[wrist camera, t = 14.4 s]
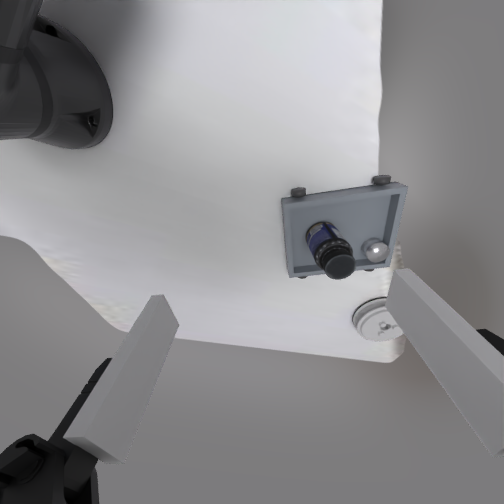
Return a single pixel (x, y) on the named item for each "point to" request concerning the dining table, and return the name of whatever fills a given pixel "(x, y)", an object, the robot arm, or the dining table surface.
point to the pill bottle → (330, 250)
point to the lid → (376, 322)
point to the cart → (343, 221)
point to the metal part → (375, 249)
